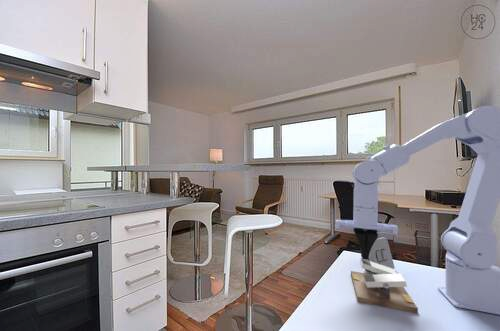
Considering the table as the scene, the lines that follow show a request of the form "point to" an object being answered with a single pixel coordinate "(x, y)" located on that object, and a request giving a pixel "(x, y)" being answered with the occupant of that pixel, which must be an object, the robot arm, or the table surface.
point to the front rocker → (384, 280)
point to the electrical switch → (381, 253)
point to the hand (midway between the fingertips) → (364, 257)
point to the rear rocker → (376, 267)
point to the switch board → (377, 298)
